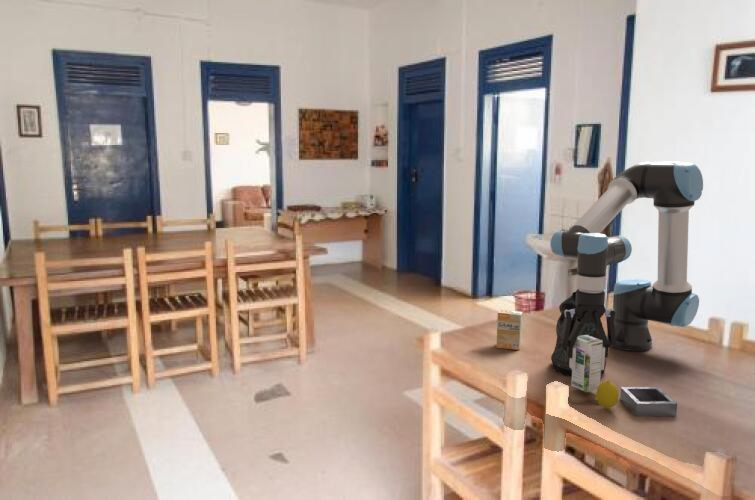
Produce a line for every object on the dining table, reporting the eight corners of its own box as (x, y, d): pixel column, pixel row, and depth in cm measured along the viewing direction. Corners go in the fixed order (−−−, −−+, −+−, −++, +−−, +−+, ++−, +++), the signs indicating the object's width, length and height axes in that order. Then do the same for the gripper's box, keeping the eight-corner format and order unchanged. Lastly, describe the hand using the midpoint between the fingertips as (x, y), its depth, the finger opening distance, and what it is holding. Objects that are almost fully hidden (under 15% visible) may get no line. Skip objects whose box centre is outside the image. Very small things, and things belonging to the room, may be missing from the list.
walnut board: (597, 386, 167) (597, 383, 167) (612, 403, 156) (612, 399, 156) (559, 387, 167) (559, 384, 167) (571, 403, 156) (572, 400, 156)
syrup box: (570, 385, 162) (572, 337, 160) (585, 381, 165) (587, 333, 163) (586, 393, 157) (588, 343, 155) (601, 388, 160) (603, 339, 158)
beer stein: (604, 362, 186) (608, 288, 181) (607, 385, 168) (612, 304, 163) (551, 357, 191) (554, 285, 187) (549, 379, 173) (552, 300, 169)
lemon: (591, 405, 155) (593, 377, 154) (611, 404, 156) (613, 376, 154) (601, 414, 150) (603, 385, 149) (621, 413, 150) (623, 384, 149)
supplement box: (495, 348, 201) (496, 312, 198) (498, 343, 205) (499, 308, 203) (519, 350, 197) (520, 314, 195) (521, 346, 202) (522, 310, 200)
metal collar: (657, 398, 159) (658, 386, 158) (676, 415, 148) (677, 403, 148) (620, 398, 159) (620, 387, 158) (636, 416, 149) (637, 403, 148)
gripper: (621, 285, 160) (617, 362, 164) (549, 286, 160) (546, 363, 164) (633, 292, 152) (628, 373, 156) (557, 293, 153) (554, 373, 157)
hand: (586, 368), depth 160 cm, fingers closed on syrup box, 7 cm apart
